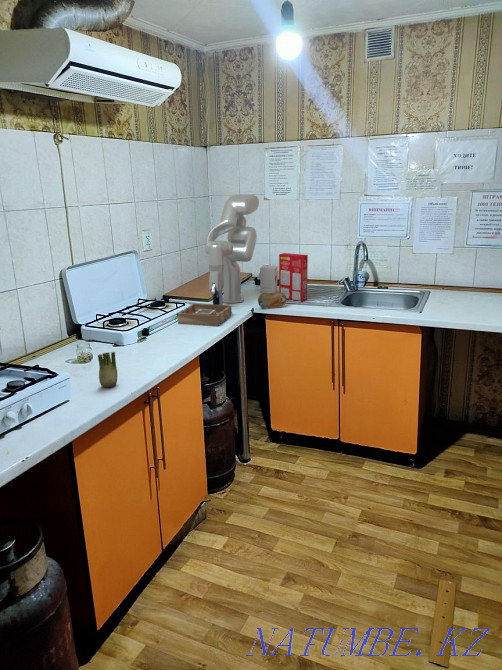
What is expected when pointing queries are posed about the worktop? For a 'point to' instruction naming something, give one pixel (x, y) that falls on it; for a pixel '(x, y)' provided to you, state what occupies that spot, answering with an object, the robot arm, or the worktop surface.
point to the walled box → (204, 314)
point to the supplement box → (268, 279)
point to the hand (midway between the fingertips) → (217, 302)
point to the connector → (220, 297)
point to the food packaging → (293, 276)
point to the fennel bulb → (107, 369)
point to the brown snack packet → (272, 300)
